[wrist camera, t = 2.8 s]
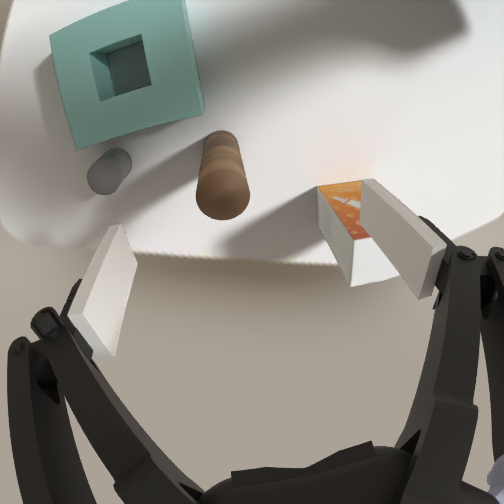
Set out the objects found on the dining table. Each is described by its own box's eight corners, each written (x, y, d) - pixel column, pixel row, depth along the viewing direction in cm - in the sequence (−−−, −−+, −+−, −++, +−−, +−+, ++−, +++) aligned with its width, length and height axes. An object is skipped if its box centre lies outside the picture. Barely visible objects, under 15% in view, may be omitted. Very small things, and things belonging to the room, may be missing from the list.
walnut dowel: (200, 134, 32) (190, 177, 20) (235, 127, 32) (245, 167, 20) (207, 165, 34) (202, 224, 23) (240, 159, 34) (253, 215, 23)
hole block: (69, 37, 22) (49, 35, 18) (184, -3, 22) (178, -14, 18) (93, 138, 30) (76, 150, 26) (204, 108, 30) (202, 114, 26)
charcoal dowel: (98, 153, 31) (82, 167, 27) (126, 144, 31) (113, 157, 27) (107, 181, 34) (94, 198, 29) (135, 174, 34) (124, 190, 29)
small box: (370, 177, 37) (422, 227, 26) (368, 217, 41) (412, 274, 30) (314, 184, 37) (353, 240, 27) (316, 226, 41) (349, 289, 30)
